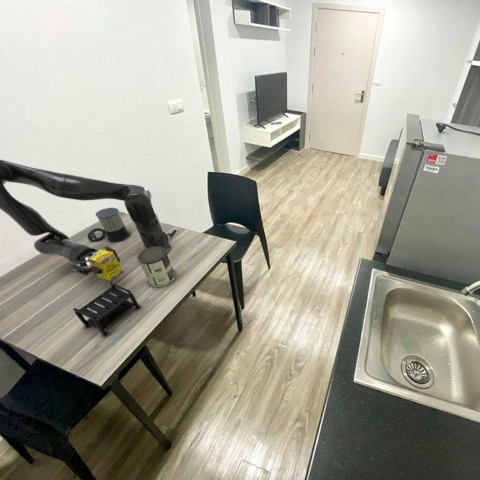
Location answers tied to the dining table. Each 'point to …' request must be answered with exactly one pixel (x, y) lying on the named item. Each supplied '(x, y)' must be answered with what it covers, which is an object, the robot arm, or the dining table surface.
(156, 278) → the coffee can
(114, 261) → the supplement box
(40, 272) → the dining table surface
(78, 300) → the dining table surface
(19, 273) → the dining table surface
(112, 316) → the rack
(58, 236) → the robot arm
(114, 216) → the milk frother
